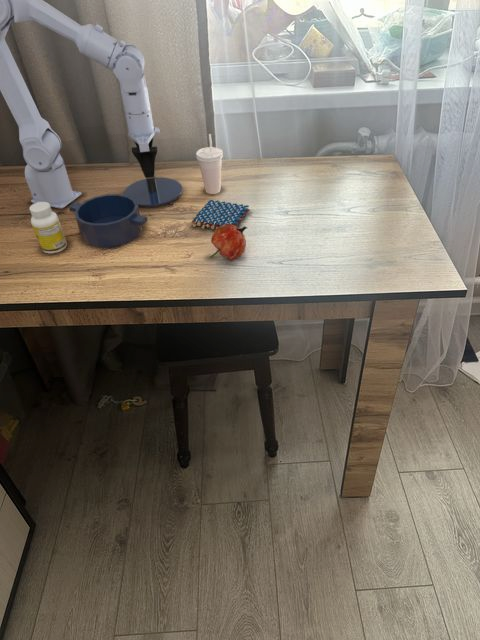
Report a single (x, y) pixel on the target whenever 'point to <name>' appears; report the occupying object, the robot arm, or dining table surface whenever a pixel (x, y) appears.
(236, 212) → the woven mat
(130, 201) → the pan
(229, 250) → the pomegranate
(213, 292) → the dining table surface
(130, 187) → the pan lid
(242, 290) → the dining table surface
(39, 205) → the supplement bottle
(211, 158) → the smoothie
